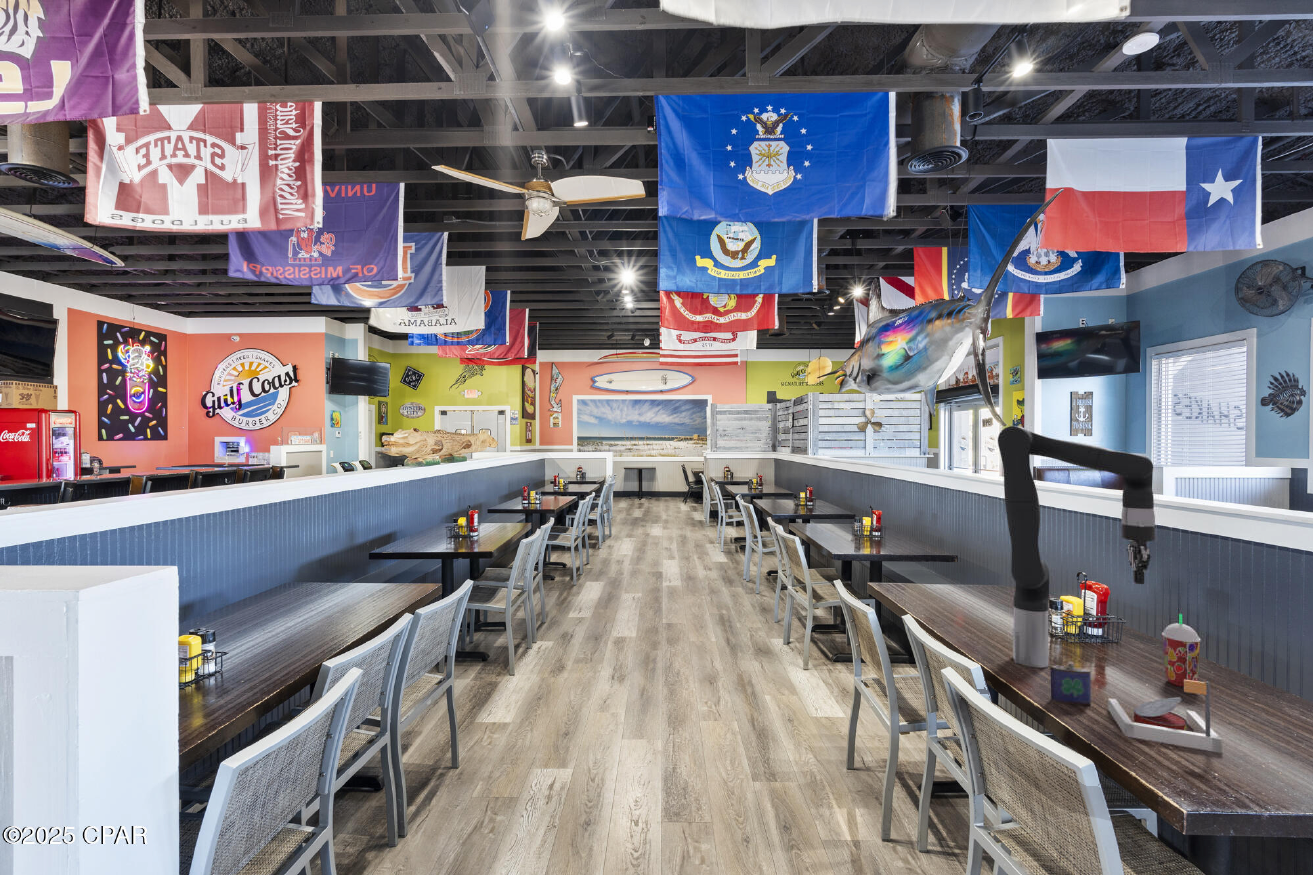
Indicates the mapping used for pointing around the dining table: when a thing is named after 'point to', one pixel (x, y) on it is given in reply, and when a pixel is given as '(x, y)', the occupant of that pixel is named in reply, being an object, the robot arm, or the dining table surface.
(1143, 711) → the canned food
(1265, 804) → the dining table surface
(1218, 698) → the dining table surface
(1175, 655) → the smoothie
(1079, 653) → the dining table surface
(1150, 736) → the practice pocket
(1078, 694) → the flask
